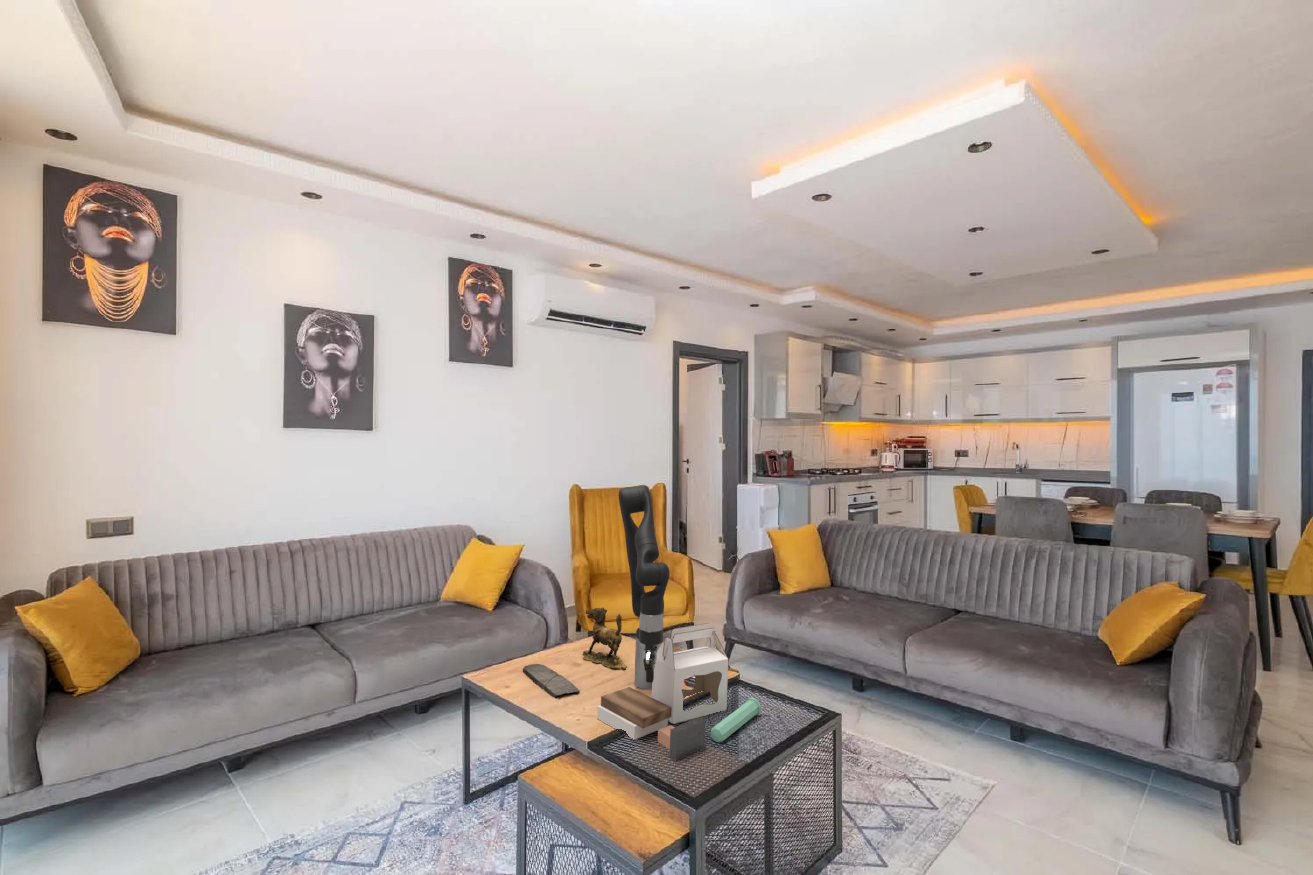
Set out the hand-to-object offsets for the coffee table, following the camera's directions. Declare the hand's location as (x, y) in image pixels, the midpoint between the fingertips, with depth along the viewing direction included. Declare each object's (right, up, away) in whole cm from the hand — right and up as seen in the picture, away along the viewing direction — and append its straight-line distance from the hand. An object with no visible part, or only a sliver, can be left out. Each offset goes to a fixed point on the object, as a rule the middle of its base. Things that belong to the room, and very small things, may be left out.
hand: (649, 681), depth 195 cm
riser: (-6, -14, +3) cm, 16 cm away
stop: (+11, -15, -14) cm, 23 cm away
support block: (+6, -15, -9) cm, 19 cm away
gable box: (+13, -15, +14) cm, 24 cm away
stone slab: (-37, -14, +33) cm, 51 cm away
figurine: (-19, -14, +55) cm, 60 cm away
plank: (-5, -10, +2) cm, 11 cm away
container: (+27, -16, +2) cm, 31 cm away
